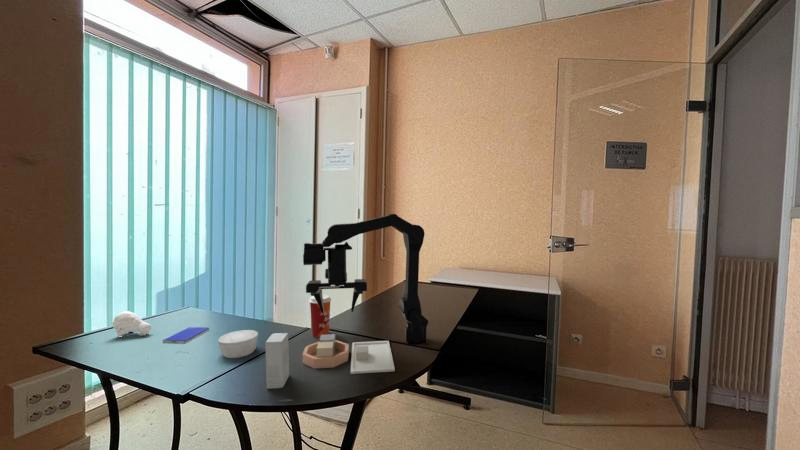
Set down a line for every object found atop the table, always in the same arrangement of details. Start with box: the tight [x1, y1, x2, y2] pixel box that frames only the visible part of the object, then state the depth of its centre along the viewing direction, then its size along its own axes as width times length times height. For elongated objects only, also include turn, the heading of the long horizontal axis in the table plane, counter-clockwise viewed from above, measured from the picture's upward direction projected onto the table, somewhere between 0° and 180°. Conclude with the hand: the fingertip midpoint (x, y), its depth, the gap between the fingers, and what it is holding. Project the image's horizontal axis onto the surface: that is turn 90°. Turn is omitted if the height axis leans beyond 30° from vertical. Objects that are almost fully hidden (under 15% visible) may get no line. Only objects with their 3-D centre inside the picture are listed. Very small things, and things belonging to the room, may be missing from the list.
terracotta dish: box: [302, 339, 350, 369], centre depth 98 cm, size 13×13×3 cm
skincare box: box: [264, 332, 290, 390], centre depth 85 cm, size 6×4×12 cm
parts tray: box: [350, 340, 395, 375], centre depth 99 cm, size 12×20×1 cm, turn 7°
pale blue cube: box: [318, 333, 336, 355], centre depth 101 cm, size 4×4×5 cm
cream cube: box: [317, 341, 334, 357], centre depth 95 cm, size 4×4×5 cm
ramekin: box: [217, 329, 259, 359], centre depth 104 cm, size 11×11×5 cm
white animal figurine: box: [111, 310, 152, 337], centre depth 118 cm, size 6×8×12 cm
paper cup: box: [308, 294, 332, 338], centre depth 117 cm, size 8×8×14 cm
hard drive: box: [162, 326, 210, 344], centre depth 117 cm, size 2×8×12 cm
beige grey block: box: [356, 346, 369, 361], centre depth 99 cm, size 4×5×2 cm
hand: (337, 312), depth 105 cm, fingers open, 9 cm apart
